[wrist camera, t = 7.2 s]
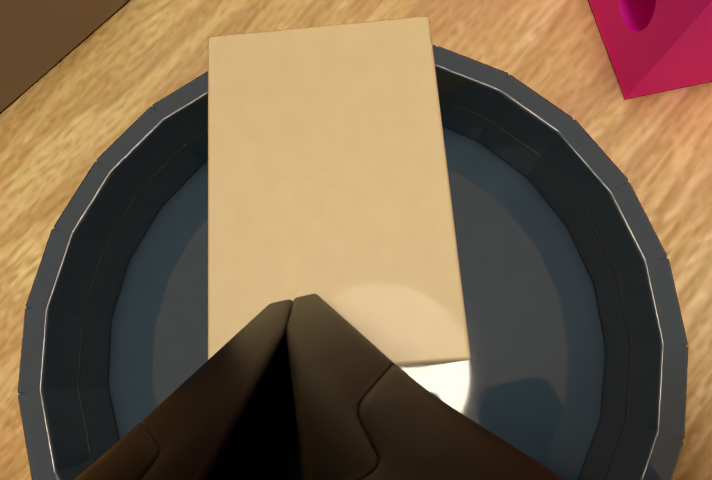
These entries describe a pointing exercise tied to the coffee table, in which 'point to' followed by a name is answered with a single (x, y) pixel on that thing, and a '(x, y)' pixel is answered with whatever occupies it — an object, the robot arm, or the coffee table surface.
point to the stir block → (334, 185)
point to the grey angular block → (43, 37)
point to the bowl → (446, 381)
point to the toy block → (656, 42)
